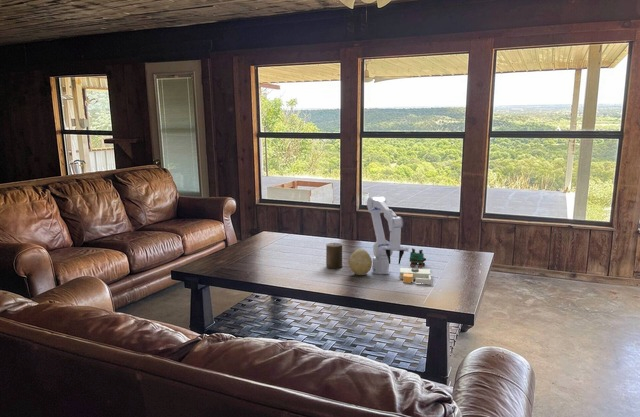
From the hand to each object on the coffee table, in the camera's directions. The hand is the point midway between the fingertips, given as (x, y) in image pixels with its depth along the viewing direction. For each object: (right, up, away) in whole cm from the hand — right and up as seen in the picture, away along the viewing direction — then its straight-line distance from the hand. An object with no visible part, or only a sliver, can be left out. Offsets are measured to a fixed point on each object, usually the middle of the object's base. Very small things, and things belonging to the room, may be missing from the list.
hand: (394, 263), depth 251 cm
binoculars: (+18, -5, +28) cm, 34 cm away
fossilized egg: (-18, -8, +11) cm, 22 cm away
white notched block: (+12, -9, +3) cm, 15 cm away
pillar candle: (-32, -5, +25) cm, 41 cm away
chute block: (+7, -10, 0) cm, 12 cm away
